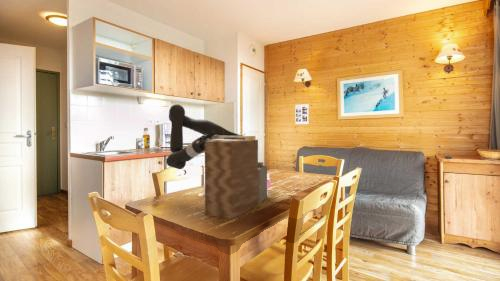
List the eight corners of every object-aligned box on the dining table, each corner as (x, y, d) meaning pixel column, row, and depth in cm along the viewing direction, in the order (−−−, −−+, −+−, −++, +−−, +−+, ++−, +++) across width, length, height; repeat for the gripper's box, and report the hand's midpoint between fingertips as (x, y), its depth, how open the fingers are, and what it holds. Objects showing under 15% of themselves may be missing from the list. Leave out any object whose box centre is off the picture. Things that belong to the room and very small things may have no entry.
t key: (208, 139, 132) (208, 135, 132) (217, 139, 139) (217, 135, 139) (247, 140, 122) (247, 136, 122) (255, 140, 129) (255, 135, 129)
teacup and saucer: (207, 192, 158) (207, 185, 158) (216, 194, 153) (216, 187, 153) (195, 195, 151) (195, 188, 151) (204, 198, 146) (204, 190, 146)
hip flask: (259, 204, 133) (260, 164, 132) (252, 203, 134) (252, 164, 133) (267, 196, 148) (267, 160, 147) (260, 196, 149) (260, 160, 148)
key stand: (205, 214, 118) (204, 138, 116) (233, 200, 139) (233, 136, 137) (232, 219, 111) (232, 139, 110) (257, 204, 133) (257, 137, 131)
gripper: (184, 142, 135) (207, 125, 128) (202, 140, 147) (223, 125, 140) (190, 155, 133) (213, 139, 126) (207, 152, 146) (229, 138, 139)
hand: (219, 132), depth 133 cm, fingers open, 8 cm apart
